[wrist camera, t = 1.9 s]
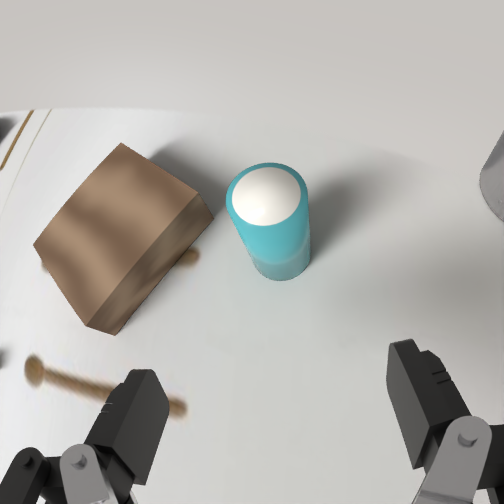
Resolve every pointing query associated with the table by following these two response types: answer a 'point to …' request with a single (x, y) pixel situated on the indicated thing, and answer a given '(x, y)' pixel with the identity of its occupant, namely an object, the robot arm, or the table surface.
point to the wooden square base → (120, 237)
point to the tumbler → (272, 218)
